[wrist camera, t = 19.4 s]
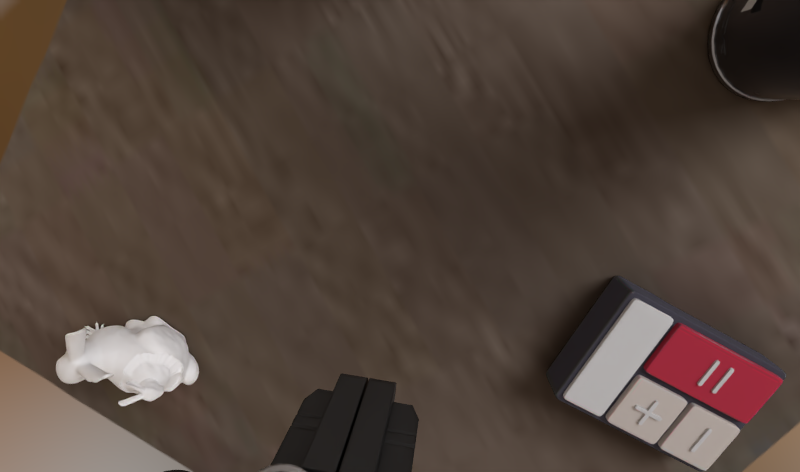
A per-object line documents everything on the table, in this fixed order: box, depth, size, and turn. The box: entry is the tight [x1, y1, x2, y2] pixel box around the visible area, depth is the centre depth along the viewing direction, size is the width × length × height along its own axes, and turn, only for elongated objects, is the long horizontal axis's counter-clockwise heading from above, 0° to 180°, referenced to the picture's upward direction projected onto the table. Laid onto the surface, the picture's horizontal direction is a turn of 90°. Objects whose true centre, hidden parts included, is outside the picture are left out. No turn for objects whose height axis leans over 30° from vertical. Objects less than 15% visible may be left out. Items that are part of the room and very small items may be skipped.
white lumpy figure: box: [56, 316, 199, 406], centre depth 43 cm, size 12×8×10 cm, turn 62°
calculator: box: [546, 276, 786, 471], centre depth 43 cm, size 11×4×15 cm
